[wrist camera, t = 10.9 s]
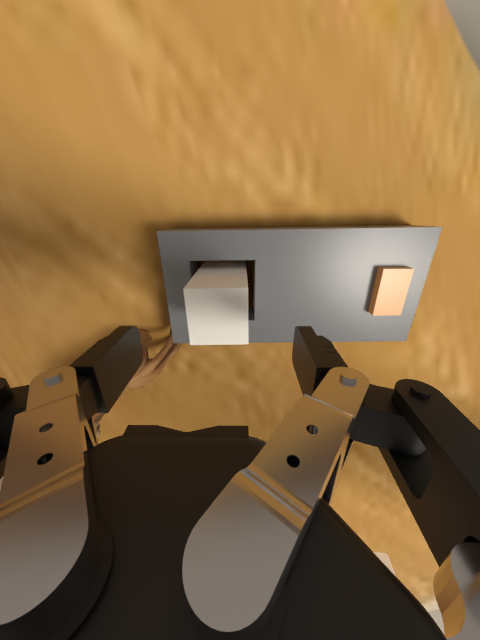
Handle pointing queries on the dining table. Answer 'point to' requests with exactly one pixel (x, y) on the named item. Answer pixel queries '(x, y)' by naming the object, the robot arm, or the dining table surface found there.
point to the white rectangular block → (218, 304)
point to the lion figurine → (146, 367)
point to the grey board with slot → (310, 277)
